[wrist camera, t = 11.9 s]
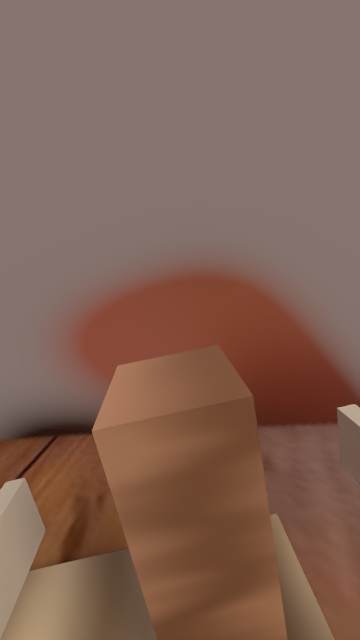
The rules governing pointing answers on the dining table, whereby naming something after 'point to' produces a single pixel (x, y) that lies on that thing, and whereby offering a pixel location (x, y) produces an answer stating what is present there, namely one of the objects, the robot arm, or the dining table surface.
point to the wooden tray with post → (178, 522)
